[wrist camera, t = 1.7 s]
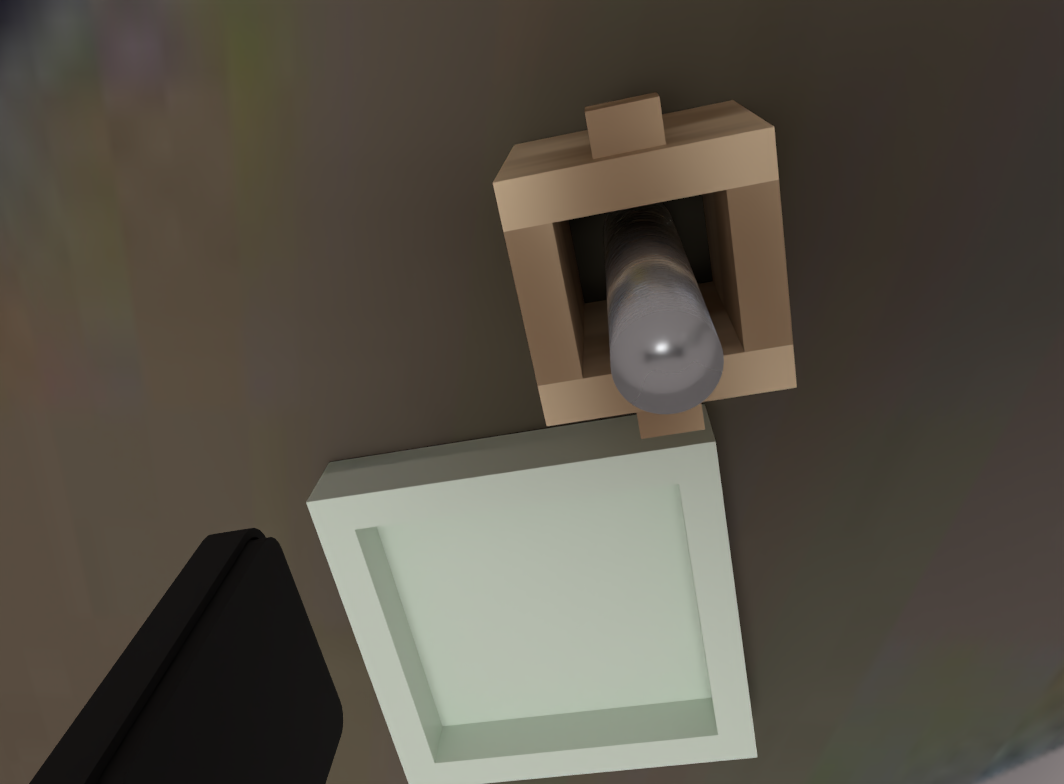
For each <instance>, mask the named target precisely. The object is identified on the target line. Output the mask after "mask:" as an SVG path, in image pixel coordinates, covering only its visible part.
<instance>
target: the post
mask: <svg viewBox="0 0 1064 784" xmlns="http://www.w3.org/2000/svg"><path fill="white" fill-rule="evenodd" d="M603 238H604V256H605V274H606V292H607V310H608V328H609V346H610V364H611V374H612V378H613V381H614V383H615V386H616V387H617V389H618V391H619V392H620V393H621V395H622V396H623V397H624V398H625V399H626V400H627V401H628V402H629V403H631V404H632V405H634V406H635V407H637V408H639V409H641V410H644V411H646V412H650V413H654V414H676V413H680V412H684V411H687V410H689V409H691V408H694V407H695V406H697V405H699V404H700V403H702V402H703V401H704V400H705V399H707V398H708V396H709V395H710V394H711V393H712V392H713V391H714V389H715V388H716V386H717V384H718V383H719V381H720V378H721V375H722V372H723V366H724V355H723V350H722V346H721V343H720V341H719V338H718V335H717V333H716V330H715V328H714V325H713V322H712V320H711V317H710V315H709V312H708V310H707V307H706V304H705V302H704V299H703V297H702V294H701V292H700V289H699V286H698V284H697V281H696V279H695V276H694V274H693V271H692V268H691V266H690V263H689V261H688V258H687V256H686V253H685V250H684V248H683V245H682V243H681V240H680V237H679V235H678V232H677V230H676V227H675V225H674V222H673V219H672V217H671V214H670V213H669V211H668V209H667V208H666V207H665V206H664V204H662V203H661V202H659V203H654V204H648V205H643V206H638V207H633V208H627V209H622V210H617V211H612V212H608V214H607V216H606V218H605V221H604V226H603Z"/></svg>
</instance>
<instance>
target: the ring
mask: <svg viewBox="0 0 1064 784" xmlns="http://www.w3.org/2000/svg"><path fill="white" fill-rule="evenodd" d="M585 116H586V122H587V128H588V130H584V131H579V132H574V133H569V134H565V135H560V136H555V137H550V138H545V139H540V140H535V141H530V142H525V143H521V144H516V145H514V146H513V148H512V149H511V151H510V153H509V155H508V157H507V158H506V160H505V162H504V164H503V165H502V167H501V169H500V171H499V172H498V174H497V176H496V178H495V179H494V181H493V187H494V191H495V196H496V200H497V205H498V209H499V214H500V218H501V223H502V227H503V232H504V236H505V241H506V245H507V250H508V254H509V259H510V263H511V268H512V272H513V277H514V281H515V286H516V290H517V295H518V299H519V304H520V308H521V313H522V317H523V322H524V326H525V331H526V336H527V340H528V345H529V349H530V354H531V358H532V363H533V367H534V372H535V376H536V381H537V385H538V390H539V394H540V399H541V403H542V408H543V412H544V417H545V421H546V426H552V425H559V424H565V423H571V422H578V421H584V420H591V419H597V418H604V417H610V416H616V415H623V414H629V413H637V418H638V424H639V430H640V436H641V439H645V438H651V437H658V436H665V435H671V434H678V433H685V432H691V431H698V430H704V429H705V425H704V418H703V410H702V403H700V404H699V405H697V406H695V407H694V408H691V409H689V410H687V411H684V412H680V413H676V414H654V413H650V412H646V411H644V410H641V409H639V408H637V407H635V406H634V405H632V404H631V403H629V402H628V401H627V400H626V399H625V398H624V397H623V396H622V395H621V393H620V392H619V391H618V389H617V387H616V386H615V383H614V381H613V378H612V374H611V364H610V346H609V328H608V310H607V300H603V301H597V302H591V303H586V304H584V298H583V293H582V288H581V282H580V277H579V272H578V267H577V261H576V256H575V251H574V245H573V240H572V235H571V229H570V224H569V220H570V219H575V218H580V217H585V216H591V215H596V214H601V213H606V212H612V211H617V210H622V209H627V208H633V207H638V206H643V205H648V204H654V203H659V202H664V201H669V200H675V199H680V198H685V197H690V196H696V195H701V194H702V198H703V206H704V214H705V222H706V230H707V238H708V246H709V255H710V263H711V271H712V279H713V281H711V282H705V283H700V284H698V286H699V289H700V292H701V294H702V297H703V299H704V302H705V304H706V307H707V310H708V312H709V315H710V317H711V320H712V322H713V325H714V328H715V330H716V333H717V335H718V338H719V341H720V343H721V346H722V350H723V355H724V366H723V372H722V375H721V378H720V381H719V383H718V384H717V386H716V388H715V389H714V391H713V392H712V393H711V394H710V395H709V396H708V398H707V399H705V400H704V401H703V402H706V401H713V400H719V399H726V398H732V397H739V396H745V395H751V394H758V393H764V392H771V391H777V390H784V389H790V388H796V387H797V384H796V372H795V360H794V349H793V337H792V326H791V314H790V302H789V291H788V279H787V267H786V256H785V244H784V233H783V221H782V209H781V198H780V186H779V175H778V163H777V151H776V140H775V128H774V126H773V125H771V124H769V123H768V122H766V121H765V120H763V119H762V118H760V117H758V116H757V115H755V114H754V113H752V112H751V111H749V110H748V109H746V108H744V107H743V106H741V105H740V104H738V103H737V102H735V101H734V100H731V101H726V102H721V103H716V104H711V105H706V106H701V107H696V108H692V109H687V110H682V111H677V112H672V113H667V114H662V111H661V104H660V97H659V95H658V94H657V93H656V92H655V93H650V94H645V95H640V96H635V97H631V98H626V99H621V100H616V101H611V102H607V103H602V104H597V105H592V106H587V107H585Z"/></svg>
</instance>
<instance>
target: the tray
mask: <svg viewBox="0 0 1064 784" xmlns="http://www.w3.org/2000/svg"><path fill="white" fill-rule="evenodd" d="M702 410H703V418H704V425H705V429H704V430H698V431H691V432H685V433H678V434H671V435H665V436H658V437H651V438H645V439H641V436H640V430H639V424H638V418H637V415H630V416H624V417H617V418H611V419H605V420H598V421H592V422H585V423H579V424H572V425H566V426H559V427H553V428H547V429H540V430H534V431H527V432H521V433H514V434H508V435H501V436H495V437H489V438H482V439H476V440H469V441H463V442H456V443H450V444H443V445H437V446H431V447H424V448H418V449H411V450H405V451H398V452H392V453H385V454H379V455H373V456H366V457H360V458H353V459H347V460H340V461H334V462H329V464H328V465H327V467H326V469H325V471H324V472H323V474H322V476H321V478H320V479H319V481H318V483H317V484H316V486H315V488H314V490H313V491H312V493H311V495H310V497H309V498H308V500H307V502H306V503H307V506H308V509H309V511H310V514H311V517H312V520H313V522H314V525H315V528H316V531H317V533H318V536H319V539H320V542H321V544H322V547H323V550H324V553H325V555H326V558H327V561H328V564H329V566H330V569H331V572H332V574H333V577H334V580H335V583H336V585H337V588H338V591H339V594H340V596H341V599H342V602H343V605H344V607H345V610H346V613H347V616H348V618H349V621H350V624H351V627H352V629H353V632H354V635H355V638H356V640H357V643H358V646H359V649H360V651H361V654H362V657H363V660H364V662H365V665H366V668H367V671H368V673H369V676H370V679H371V681H372V684H373V687H374V690H375V692H376V695H377V698H378V701H379V703H380V706H381V709H382V712H383V714H384V717H385V720H386V723H387V725H388V728H389V731H390V734H391V736H392V739H393V742H394V745H395V747H396V750H397V753H398V756H399V758H400V761H401V764H402V767H403V769H404V772H405V775H406V778H407V780H408V783H409V784H483V783H494V782H504V781H515V780H525V779H536V778H546V777H557V776H567V775H578V774H588V773H599V772H609V771H619V770H630V769H640V768H651V767H661V766H672V765H682V764H693V763H703V762H714V761H724V760H735V759H745V758H755V757H757V750H756V743H755V735H754V728H753V720H752V713H751V705H750V697H749V690H748V682H747V675H746V667H745V660H744V652H743V645H742V637H741V629H740V622H739V614H738V607H737V599H736V592H735V584H734V577H733V569H732V561H731V554H730V546H729V539H728V531H727V524H726V516H725V509H724V501H723V493H722V486H721V478H720V471H719V463H718V456H717V448H716V441H715V438H714V434H713V431H712V427H711V424H710V420H709V417H708V413H707V410H706V406H705V404H702Z"/></svg>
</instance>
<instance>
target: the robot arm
mask: <svg viewBox="0 0 1064 784" xmlns="http://www.w3.org/2000/svg"><path fill="white" fill-rule="evenodd" d="M342 728H343V712H342V706H341V702H340V699H339V697H338V694H337V691H336V689H335V686H334V684H333V681H332V678H331V676H330V673H329V671H328V668H327V665H326V663H325V660H324V658H323V655H322V652H321V650H320V647H319V645H318V642H317V639H316V637H315V634H314V632H313V629H312V626H311V624H310V621H309V619H308V616H307V613H306V611H305V608H304V606H303V603H302V600H301V598H300V595H299V593H298V590H297V587H296V585H295V582H294V579H293V577H292V574H291V572H290V569H289V566H288V564H287V561H286V559H285V556H284V553H283V551H282V548H281V546H280V544H279V542H278V541H277V540H276V539H275V538H272V537H269V538H266V537H265V535H264V534H263V533H262V532H261V531H260V530H258V529H256V528H250V529H244V530H237V531H231V532H224V533H218V534H212V535H208V536H207V537H206V538H205V539H204V540H203V541H202V543H201V544H200V546H199V547H198V548H197V550H196V551H195V553H194V554H193V555H192V557H191V558H190V560H189V561H188V562H187V564H186V565H185V567H184V568H183V569H182V571H181V572H180V574H179V575H178V576H177V578H176V579H175V581H174V582H173V583H172V585H171V586H170V588H169V589H168V590H167V592H166V593H165V595H164V596H163V597H162V599H161V600H160V602H159V603H158V604H157V606H156V607H155V609H154V610H153V611H152V613H151V614H150V616H149V617H148V618H147V620H146V621H145V623H144V624H143V625H142V627H141V628H140V630H139V631H138V632H137V634H136V635H135V636H134V638H133V639H132V641H131V642H130V643H129V645H128V646H127V648H126V649H125V650H124V652H123V653H122V655H121V656H120V657H119V659H118V660H117V662H116V663H115V664H114V666H113V667H112V669H111V670H110V671H109V673H108V674H107V676H106V677H105V678H104V680H103V681H102V683H101V684H100V685H99V687H98V688H97V690H96V691H95V692H94V694H93V695H92V697H91V698H90V699H89V701H88V702H87V704H86V705H85V706H84V708H83V709H82V711H81V712H80V713H79V715H78V716H77V718H76V719H75V720H74V722H73V723H72V725H71V726H70V727H69V729H68V730H67V732H66V733H65V734H64V736H63V737H62V739H61V740H60V741H59V743H58V744H57V746H56V747H55V748H54V750H53V751H52V753H51V754H50V755H49V757H48V758H47V760H46V761H45V762H44V764H43V765H42V767H41V768H40V769H39V771H38V772H37V774H36V775H35V776H34V778H33V779H32V781H31V782H30V783H29V784H325V783H326V780H327V777H328V774H329V771H330V768H331V765H332V762H333V759H334V756H335V753H336V750H337V746H338V743H339V740H340V737H341V733H342Z"/></svg>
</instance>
